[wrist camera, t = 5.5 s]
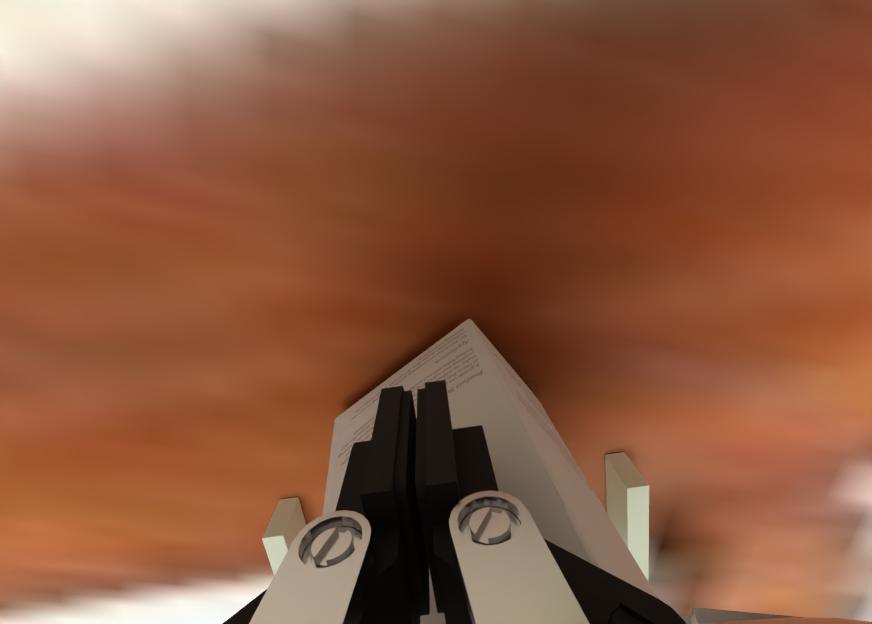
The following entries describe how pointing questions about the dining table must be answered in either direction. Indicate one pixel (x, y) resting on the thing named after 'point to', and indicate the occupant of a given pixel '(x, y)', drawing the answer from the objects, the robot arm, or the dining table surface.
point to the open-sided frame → (622, 501)
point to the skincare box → (499, 449)
